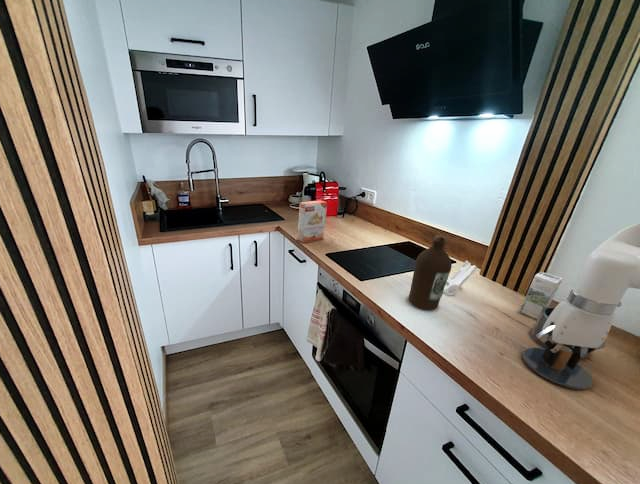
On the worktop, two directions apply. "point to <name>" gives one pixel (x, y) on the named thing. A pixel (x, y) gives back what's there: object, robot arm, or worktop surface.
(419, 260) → the brown bottle
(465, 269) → the plastic part
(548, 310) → the tin
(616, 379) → the worktop surface
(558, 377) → the tin lid
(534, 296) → the syrup box
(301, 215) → the cracker box
